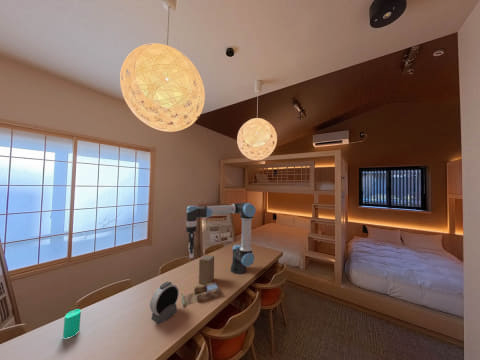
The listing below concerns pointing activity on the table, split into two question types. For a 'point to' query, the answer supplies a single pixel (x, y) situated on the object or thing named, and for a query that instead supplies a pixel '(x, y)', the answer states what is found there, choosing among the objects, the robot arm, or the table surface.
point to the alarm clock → (164, 302)
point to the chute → (200, 294)
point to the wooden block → (206, 269)
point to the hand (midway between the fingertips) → (190, 254)
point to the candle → (72, 323)
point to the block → (212, 287)
